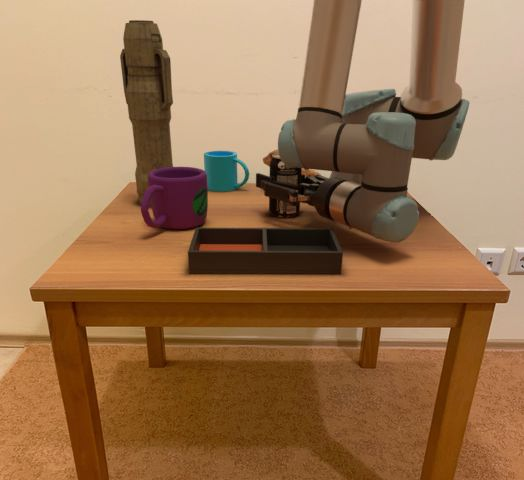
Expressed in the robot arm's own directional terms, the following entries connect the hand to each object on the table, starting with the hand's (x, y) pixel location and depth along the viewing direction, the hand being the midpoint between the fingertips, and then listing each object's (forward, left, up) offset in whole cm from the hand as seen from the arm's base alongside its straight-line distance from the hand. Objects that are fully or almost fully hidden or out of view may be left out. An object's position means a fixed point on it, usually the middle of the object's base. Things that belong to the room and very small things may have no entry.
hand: (271, 177), depth 110 cm
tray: (+17, +27, -7) cm, 32 cm away
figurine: (-10, -8, -7) cm, 15 cm away
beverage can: (0, +5, -7) cm, 8 cm away
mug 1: (+24, +3, -7) cm, 25 cm away
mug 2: (+1, -21, -7) cm, 22 cm away
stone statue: (+21, -16, -7) cm, 27 cm away
